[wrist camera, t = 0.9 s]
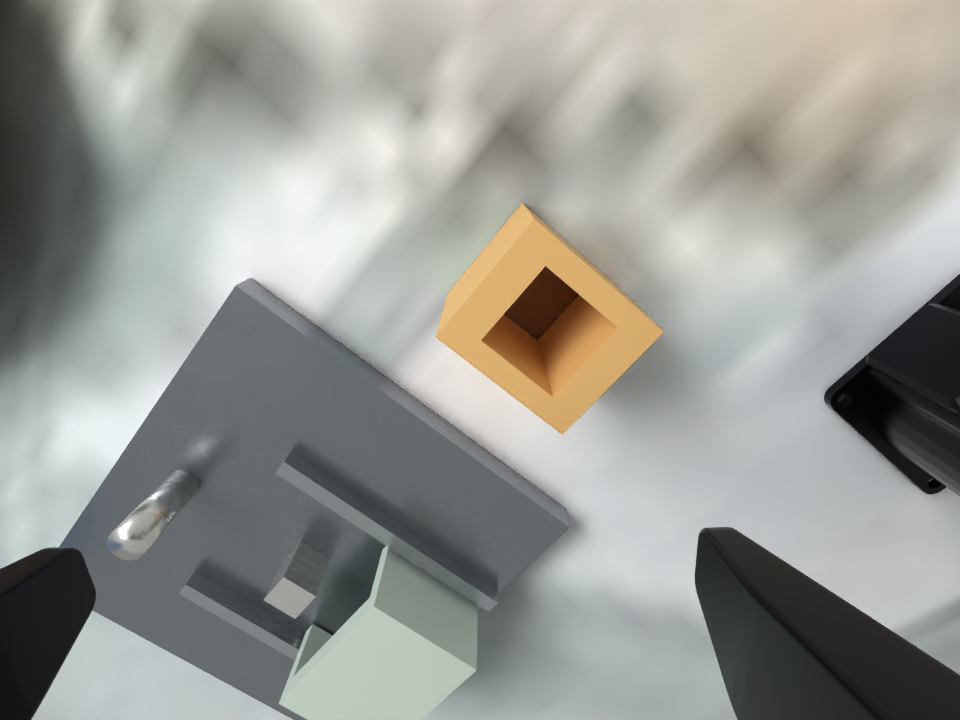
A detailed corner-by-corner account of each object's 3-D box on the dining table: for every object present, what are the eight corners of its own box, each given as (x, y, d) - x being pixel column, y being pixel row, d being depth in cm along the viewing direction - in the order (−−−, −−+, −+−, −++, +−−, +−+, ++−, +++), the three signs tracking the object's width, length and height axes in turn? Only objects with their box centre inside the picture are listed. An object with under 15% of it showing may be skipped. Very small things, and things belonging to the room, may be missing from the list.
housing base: (565, 508, 22) (584, 594, 18) (344, 719, 27) (316, 829, 22) (250, 277, 19) (180, 313, 15) (58, 559, 24) (-40, 651, 19)
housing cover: (478, 599, 23) (476, 670, 19) (392, 681, 24) (377, 758, 21) (389, 541, 22) (373, 606, 18) (306, 630, 23) (278, 703, 20)
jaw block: (621, 289, 19) (664, 331, 15) (545, 370, 20) (562, 434, 16) (522, 202, 18) (534, 218, 14) (448, 293, 19) (435, 336, 15)
